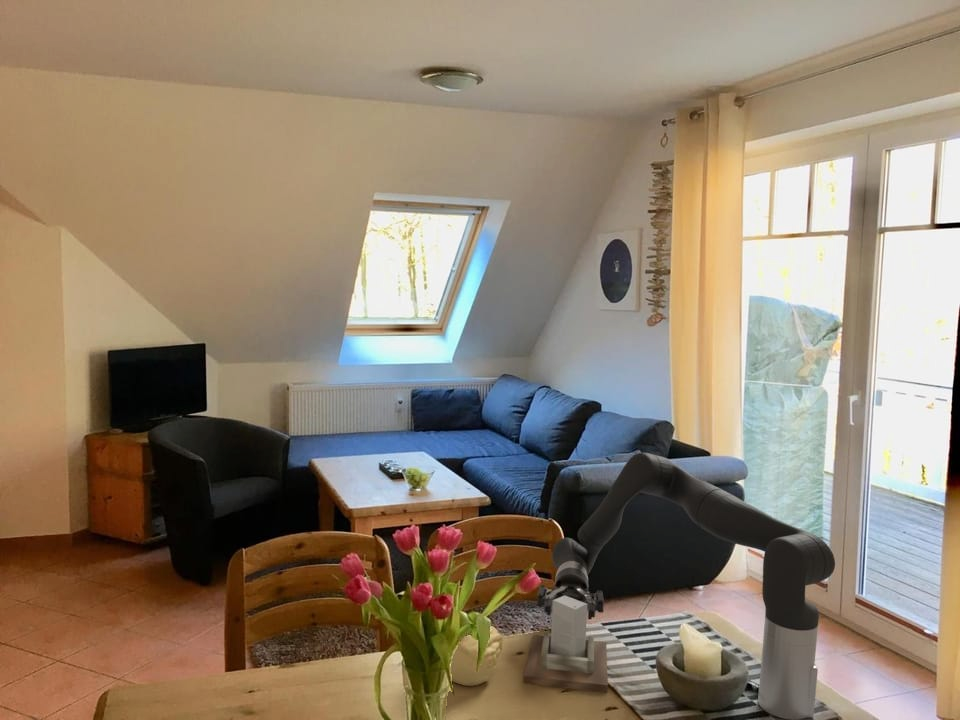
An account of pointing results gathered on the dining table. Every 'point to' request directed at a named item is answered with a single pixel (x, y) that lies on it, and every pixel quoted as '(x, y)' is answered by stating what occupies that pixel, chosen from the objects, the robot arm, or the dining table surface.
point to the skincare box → (568, 627)
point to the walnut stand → (567, 666)
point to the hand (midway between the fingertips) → (569, 612)
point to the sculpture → (475, 660)
